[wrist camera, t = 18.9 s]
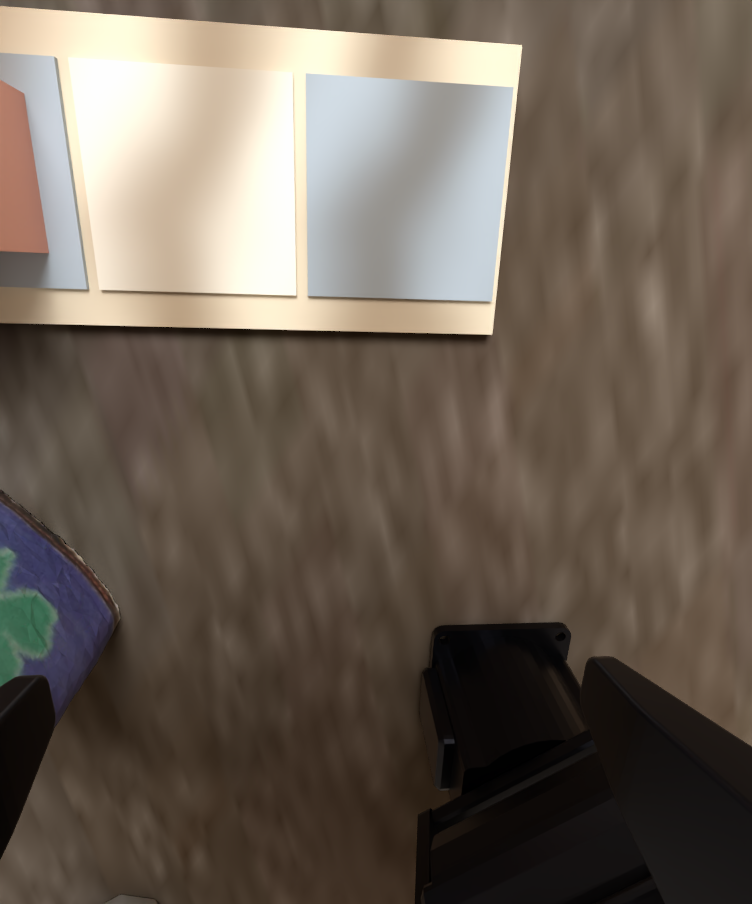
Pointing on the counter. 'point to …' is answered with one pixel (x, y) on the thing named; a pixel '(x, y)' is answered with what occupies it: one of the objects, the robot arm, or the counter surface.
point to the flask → (48, 607)
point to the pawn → (18, 179)
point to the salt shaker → (131, 900)
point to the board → (259, 175)
